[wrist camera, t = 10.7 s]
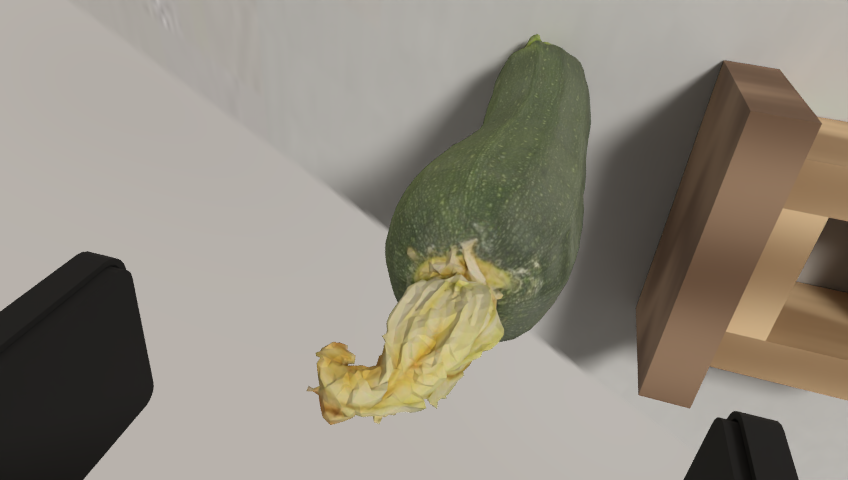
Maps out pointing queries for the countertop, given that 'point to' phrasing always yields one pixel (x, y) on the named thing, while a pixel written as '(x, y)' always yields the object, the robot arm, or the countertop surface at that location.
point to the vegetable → (476, 241)
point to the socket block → (797, 286)
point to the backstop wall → (719, 225)
